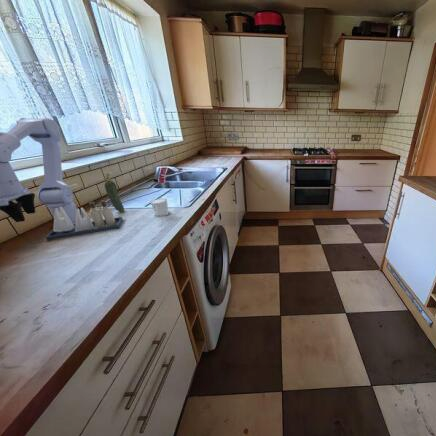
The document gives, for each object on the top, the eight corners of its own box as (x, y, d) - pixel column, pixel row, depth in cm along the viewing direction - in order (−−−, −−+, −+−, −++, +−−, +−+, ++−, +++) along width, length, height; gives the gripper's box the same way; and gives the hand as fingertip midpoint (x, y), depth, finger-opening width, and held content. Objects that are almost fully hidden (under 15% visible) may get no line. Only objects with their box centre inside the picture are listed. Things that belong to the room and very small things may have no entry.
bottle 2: (108, 224, 99) (98, 200, 94) (117, 223, 101) (108, 199, 96) (106, 227, 97) (96, 202, 92) (115, 226, 98) (106, 201, 93)
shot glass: (165, 217, 107) (161, 203, 104) (151, 217, 107) (147, 203, 104) (172, 211, 113) (169, 198, 110) (159, 211, 114) (155, 198, 111)
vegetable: (119, 214, 110) (104, 174, 101) (112, 214, 111) (96, 173, 102) (127, 211, 114) (113, 171, 105) (120, 210, 114) (106, 171, 106)
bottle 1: (97, 226, 98) (87, 201, 93) (106, 224, 99) (97, 200, 94) (95, 229, 95) (85, 204, 90) (105, 227, 97) (95, 203, 92)
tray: (57, 231, 95) (55, 227, 94) (123, 220, 104) (121, 216, 103) (47, 241, 88) (45, 237, 87) (119, 229, 97) (118, 225, 96)
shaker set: (55, 235, 91) (41, 210, 86) (61, 231, 94) (48, 206, 89) (90, 231, 94) (80, 206, 89) (95, 226, 97) (85, 203, 93)
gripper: (9, 185, 73) (30, 223, 79) (32, 174, 85) (49, 208, 91) (-22, 188, 70) (2, 227, 76) (6, 177, 82) (25, 211, 88)
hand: (26, 217), depth 83 cm, fingers open, 7 cm apart
